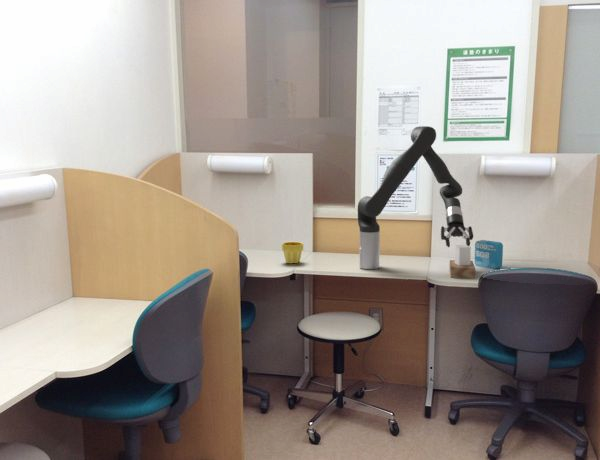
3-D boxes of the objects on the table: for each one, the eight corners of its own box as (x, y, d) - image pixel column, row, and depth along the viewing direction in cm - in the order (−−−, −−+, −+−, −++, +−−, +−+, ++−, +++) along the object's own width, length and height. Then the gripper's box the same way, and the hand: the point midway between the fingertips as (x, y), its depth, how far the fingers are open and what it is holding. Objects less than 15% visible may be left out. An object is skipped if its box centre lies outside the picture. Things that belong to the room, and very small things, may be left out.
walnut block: (450, 278, 253) (450, 267, 252) (449, 270, 269) (449, 259, 268) (474, 279, 251) (475, 268, 250) (472, 271, 267) (472, 260, 266)
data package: (474, 265, 277) (474, 240, 275) (479, 264, 280) (480, 239, 278) (496, 269, 268) (497, 243, 266) (502, 268, 270) (503, 242, 269)
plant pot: (303, 265, 283) (302, 245, 282) (281, 265, 284) (281, 245, 282) (303, 260, 293) (303, 241, 292) (283, 260, 294) (282, 241, 292)
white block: (459, 265, 256) (459, 247, 255) (454, 262, 261) (454, 245, 260) (470, 265, 256) (470, 247, 255) (465, 262, 262) (465, 244, 261)
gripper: (440, 213, 274) (443, 241, 264) (471, 213, 273) (475, 241, 263) (438, 222, 280) (441, 251, 270) (468, 222, 279) (473, 251, 269)
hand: (458, 246), depth 267 cm, fingers open, 8 cm apart
